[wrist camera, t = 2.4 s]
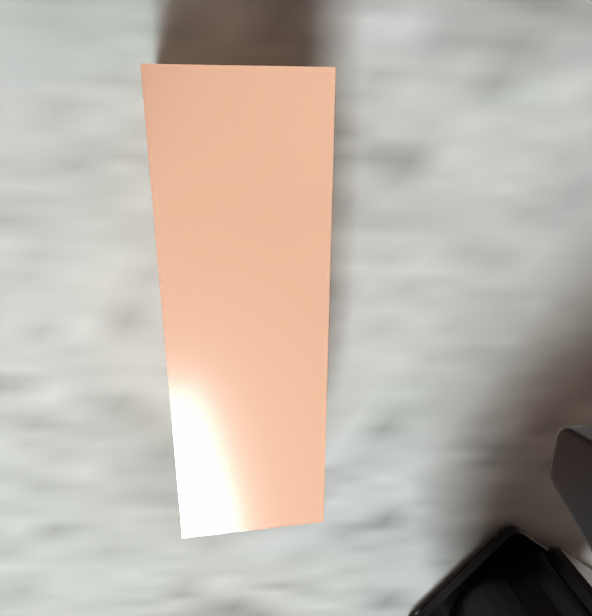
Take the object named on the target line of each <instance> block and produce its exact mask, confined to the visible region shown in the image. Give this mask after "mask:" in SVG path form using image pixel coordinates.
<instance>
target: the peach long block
mask: <svg viewBox="0 0 592 616" xmlns="http://www.w3.org/2000/svg"><path fill="white" fill-rule="evenodd" d="M335 73H336V67H305V66H247V65H190V64H141V76H142V87H143V99H144V110H145V121H146V133H147V144H148V155H149V167H150V178H151V190H152V201H153V212H154V224H155V235H156V246H157V258H158V269H159V281H160V292H161V303H162V315H163V326H164V337H165V349H166V360H167V372H168V383H169V394H170V406H171V417H172V428H173V440H174V451H175V463H176V474H177V485H178V497H179V508H180V520H181V531H182V539H183V538H192V537H200V536H208V535H216V534H225V533H233V532H241V531H249V530H258V529H266V528H274V527H282V526H291V525H299V524H307V523H315V522H323V519H324V481H325V444H326V407H327V370H328V333H329V296H330V259H331V221H332V184H333V147H334V110H335Z"/></svg>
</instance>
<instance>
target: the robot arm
mask: <svg viewBox="0 0 592 616" xmlns="http://www.w3.org/2000/svg"><path fill="white" fill-rule="evenodd" d="M550 475H551V480H552V482H553V485H554V487H555V489H556V490H557V492H558V494H559V495H560V497H561V499H562V501H563V502H564V504H565V506H566V507H567V509H568V511H569V513H570V514H571V516H572V518H573V519H574V521H575V523H576V525H577V526H578V528H579V530H580V531H581V533H582V535H583V537H584V538H585V540H586V542H587V543H588V545H589V547H590V549H591V550H592V427H591V426H587V425H579V426H569V427H563V428H562V429H560V431H559V432H558V434H557V437H556V442H555V447H554V452H553V457H552V462H551V467H550ZM416 616H592V570H591V569H590V568H588V567H587V566H586V565H584V564H583V563H581V562H580V561H578V560H577V559H576V558H574V557H573V556H571V555H570V554H569V553H567V552H566V551H564V550H563V549H561V548H560V547H555V546H551V547H550V548H547V547H546V546H545V545H543V544H542V543H540V542H539V541H537V540H536V539H534V538H533V537H532V536H530V535H529V534H527V533H526V532H524V531H523V530H521V529H520V528H519V527H516V526H510V527H507V528H505V529H504V530H503V531H502V532H501V533H500V534H499V535H498V536H497V537H495V538H494V539H493V540H492V541H491V542H490V543H489V544H488V545H487V546H486V547H485V548H484V549H483V550H482V551H481V552H480V553H479V554H478V555H477V556H476V557H475V558H474V559H473V560H472V561H471V562H470V563H469V564H468V565H467V566H466V567H465V568H464V569H463V570H462V571H461V572H460V573H459V574H458V575H457V576H456V577H455V578H454V579H453V580H452V581H451V582H450V583H449V584H448V585H447V586H446V587H445V588H443V589H442V590H441V591H440V592H439V593H438V594H437V595H436V596H435V597H434V598H433V599H432V600H431V601H430V602H429V603H428V604H427V605H426V606H425V607H424V608H423V609H422V610H421V611H420V612H419V613H418V614H417V615H416Z"/></svg>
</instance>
